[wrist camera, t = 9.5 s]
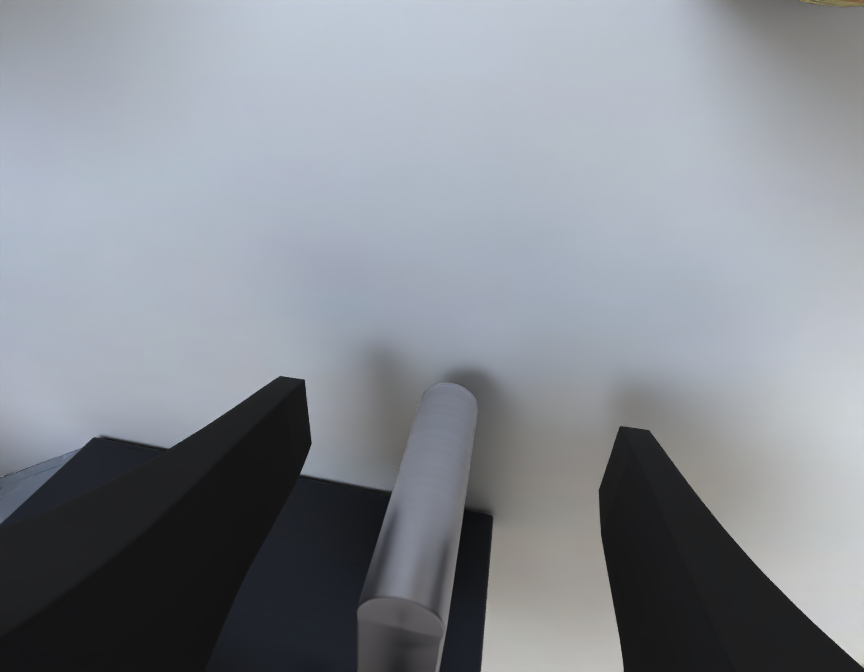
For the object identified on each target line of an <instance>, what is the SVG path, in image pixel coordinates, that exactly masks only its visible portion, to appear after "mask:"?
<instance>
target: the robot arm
mask: <svg viewBox="0 0 864 672" xmlns="http://www.w3.org/2000/svg"><path fill="white" fill-rule="evenodd" d="M311 444H312V443H311V434H310V425H309V416H308V406H307V397H306V388H305V380H303V379H296V378H289V377H283V376H280V377H278V378H276V379H275V380H273V381H272V382H270V383H269V384H267V385H266V386H264V387H263V388H262V389H260V390H259V391H257V392H256V393H254V394H253V395H251V396H250V397H249V398H247V399H246V400H244V401H243V402H241V403H240V404H238V405H237V406H236V407H234V408H233V409H231V410H230V411H228V412H227V413H225V414H224V415H222V416H221V417H219V418H218V419H216V420H215V421H213V422H212V423H210V424H209V425H207V426H206V427H204V428H203V429H201V430H199V431H198V432H196V433H194V434H193V435H191V436H190V437H188V438H186V439H185V440H183V441H181V442H180V443H178V444H177V445H175V446H173V447H172V448H170V449H168V450H167V451H165V452H164V453H162V454H160V455H158V456H156V457H155V458H153V459H151V460H149V461H148V462H146V463H144V464H142V465H140V466H138V467H136V468H134V469H133V470H131V471H129V472H127V473H125V474H123V475H121V476H119V477H117V478H115V479H113V480H111V481H109V482H107V483H105V484H103V485H101V486H98V487H96V488H94V489H92V490H89V491H87V492H85V493H83V494H81V495H78V496H76V497H74V498H72V499H69V500H67V501H65V502H63V503H61V504H58V505H56V506H54V507H52V508H49V509H47V510H44V511H42V512H39V513H37V514H34V515H32V516H29V517H27V518H24V519H22V520H19V521H17V522H14V523H11V524H9V525H6V526H3V527H1V528H0V672H205V669H206V667H207V664H208V662H209V660H210V657H211V655H212V652H213V650H214V647H215V645H216V642H217V640H218V638H219V635H220V633H221V630H222V628H223V625H224V623H225V621H226V619H227V616H228V614H229V612H230V609H231V607H232V605H233V602H234V600H235V598H236V595H237V593H238V591H239V589H240V586H241V584H242V582H243V580H244V578H245V576H246V574H247V572H248V570H249V568H250V566H251V564H252V563H253V561H254V559H255V557H256V555H257V554H258V552H259V550H260V548H261V546H262V545H263V543H264V541H265V539H266V537H267V536H268V534H269V532H270V530H271V528H272V527H273V525H274V523H275V521H276V519H277V517H278V516H279V514H280V512H281V510H282V508H283V507H284V505H285V503H286V501H287V499H288V497H289V495H290V494H291V492H292V490H293V488H294V486H295V484H296V482H297V480H298V478H299V475H300V473H301V470H302V468H303V465H304V463H305V460H306V457H307V455H308V452H309V449H310V447H311ZM599 506H600V524H601V537H602V543H603V548H604V554H605V560H606V565H607V571H608V577H609V582H610V588H611V593H612V599H613V604H614V610H615V615H616V621H617V626H618V632H619V637H620V644H621V651H622V658H623V666H624V672H864V668H863V667H862V666H860V665H859V664H858V663H857V662H856V661H855V660H854V659H853V658H852V657H850V656H849V655H848V654H847V653H846V652H845V651H844V650H843V649H842V648H840V647H839V646H838V645H837V644H836V643H835V642H834V641H833V640H832V639H831V638H829V637H828V636H827V635H826V634H825V633H824V632H823V631H822V630H821V629H820V628H818V627H817V626H816V625H815V624H814V623H813V622H812V621H811V620H810V619H809V618H808V617H807V616H806V615H805V614H804V613H803V612H802V611H801V610H800V609H799V608H798V607H796V605H795V604H794V603H793V602H792V601H791V600H790V599H789V598H788V597H787V596H786V595H785V594H784V593H783V592H782V591H781V590H780V589H779V588H778V587H777V586H776V585H775V584H774V583H773V582H772V581H771V580H770V579H769V578H768V577H767V576H766V575H765V574H764V573H763V572H762V571H761V570H760V569H759V568H758V566H757V565H756V564H755V563H754V562H753V561H752V560H751V559H750V558H749V557H748V556H747V554H746V553H745V552H744V551H743V550H742V549H741V548H740V546H739V545H738V544H737V543H736V542H735V541H734V539H733V538H732V537H731V536H730V535H729V534H728V533H727V531H726V530H725V529H724V528H723V527H722V526H721V524H720V523H719V522H718V521H717V519H716V518H715V517H714V516H713V514H712V513H711V512H710V511H709V509H708V508H707V507H706V506H705V504H704V503H703V502H702V501H701V499H700V498H699V497H698V495H697V494H696V493H695V492H694V490H693V489H692V488H691V486H690V485H689V484H688V482H687V481H686V480H685V478H684V477H683V476H682V474H681V473H680V472H679V470H678V469H677V468H676V466H675V465H674V463H673V462H672V461H671V459H670V458H669V457H668V455H667V454H666V452H665V451H664V450H663V448H662V447H661V446H660V444H659V443H658V442H657V440H656V439H655V437H654V436H653V435H652V433H651V432H650V431H649V430H644V429H638V428H631V427H624V426H620V427H619V431H618V434H617V437H616V440H615V443H614V446H613V449H612V452H611V455H610V458H609V461H608V464H607V467H606V470H605V473H604V476H603V479H602V482H601V485H600V488H599Z"/></svg>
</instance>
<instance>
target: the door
mask: <svg viewBox="0 0 864 672" xmlns="http://www.w3.org/2000/svg"><path fill="white" fill-rule="evenodd" d="M477 416H478V404H477V401H476V399H475V397H474V396H473V394H472V393H471V392H470V391H468V390H467V389H466V388H464V387H462V386H460V385H457V384H453V383H439V384H435V385H433V386H431V387H429V388H428V389H427V390H426V391H425V392H424V393H423V395H422V397H421V400H420V403H419V406H418V409H417V413H416V416H415V419H414V423H413V426H412V429H411V432H410V436H409V439H408V442H407V445H406V449H405V452H404V455H403V459H402V462H401V465H400V468H399V472H398V475H397V478H396V481H395V485H394V488H393V491H392V495H385V494H380V493H375V492H370V491H365V490H360V489H355V488H350V487H345V486H340V485H335V484H329V483H324V482H319V481H314V480H309V479H304V478H298V480H297V482H296V484H295V486H294V488H293V490H292V492H291V494H290V495H289V497H288V499H287V501H286V503H285V505H284V507H283V508H282V510H281V512H280V514H279V516H278V517H277V519H276V521H275V523H274V525H273V527H272V528H271V530H270V532H269V534H268V536H267V537H266V539H265V541H264V543H263V545H262V546H261V548H260V550H259V552H258V554H257V555H256V557H255V559H254V561H253V563H252V564H251V566H250V568H249V570H248V572H247V574H246V576H245V578H244V580H243V582H242V584H241V586H240V589H239V591H238V593H237V595H236V598H235V600H234V602H233V605H232V607H231V609H230V612H229V614H228V616H227V619H226V621H225V623H224V625H223V628H222V630H221V633H220V635H219V638H218V640H217V642H216V645H215V647H214V650H213V652H212V655H211V657H210V660H209V662H208V664H207V667H206V669H205V672H481V662H482V650H483V638H484V625H485V613H486V601H487V589H488V577H489V564H490V552H491V540H492V528H493V516H492V515H487V514H482V513H477V512H472V511H467V510H464V506H465V499H466V492H467V485H468V478H469V471H470V464H471V457H472V450H473V444H474V437H475V430H476V423H477ZM164 452H165V451H162V450H157V449H151V448H146V447H141V446H136V445H131V444H126V443H121V442H116V441H111V440H106V439H101V438H96V437H94V438H92V439H91V440H90V441H89V442H88V443H87V444H86V445H85V446H84V447H83V448H82V449H81V450H80V451H78V452H77V453H76V454H75V455H74V456H73V457H72V458H71V459H70V460H69V461H68V462H67V463H65V464H64V465H63V466H62V467H61V468H60V469H59V470H58V471H57V472H56V473H55V474H54V475H53V476H51V477H50V478H49V479H48V480H47V481H46V482H45V483H44V484H43V485H42V486H41V487H40V488H39V489H37V490H36V491H35V492H34V493H33V494H32V495H31V496H30V497H29V498H28V499H27V500H26V501H24V502H23V503H22V504H21V505H20V506H19V507H18V508H17V509H16V510H15V511H14V512H13V513H12V514H10V515H9V516H8V517H7V518H6V519H5V520H4V521H3V522H2V523H1V524H0V528H1V527H3V526H6V525H9V524H11V523H14V522H17V521H19V520H22V519H24V518H27V517H29V516H32V515H34V514H37V513H39V512H42V511H44V510H47V509H49V508H52V507H54V506H56V505H58V504H61V503H63V502H65V501H67V500H69V499H72V498H74V497H76V496H78V495H81V494H83V493H85V492H87V491H89V490H92V489H94V488H96V487H98V486H101V485H103V484H105V483H107V482H109V481H111V480H113V479H115V478H117V477H119V476H121V475H123V474H125V473H127V472H129V471H131V470H133V469H134V468H136V467H138V466H140V465H142V464H144V463H146V462H148V461H149V460H151V459H153V458H155V457H156V456H158V455H160V454H162V453H164Z"/></svg>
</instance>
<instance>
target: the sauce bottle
mask: <svg viewBox="0 0 864 672" xmlns="http://www.w3.org/2000/svg"><path fill="white" fill-rule="evenodd" d="M799 1H802V2H808V3H813V4H819V5H826V6H837V7H852V6H864V0H799Z"/></svg>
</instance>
